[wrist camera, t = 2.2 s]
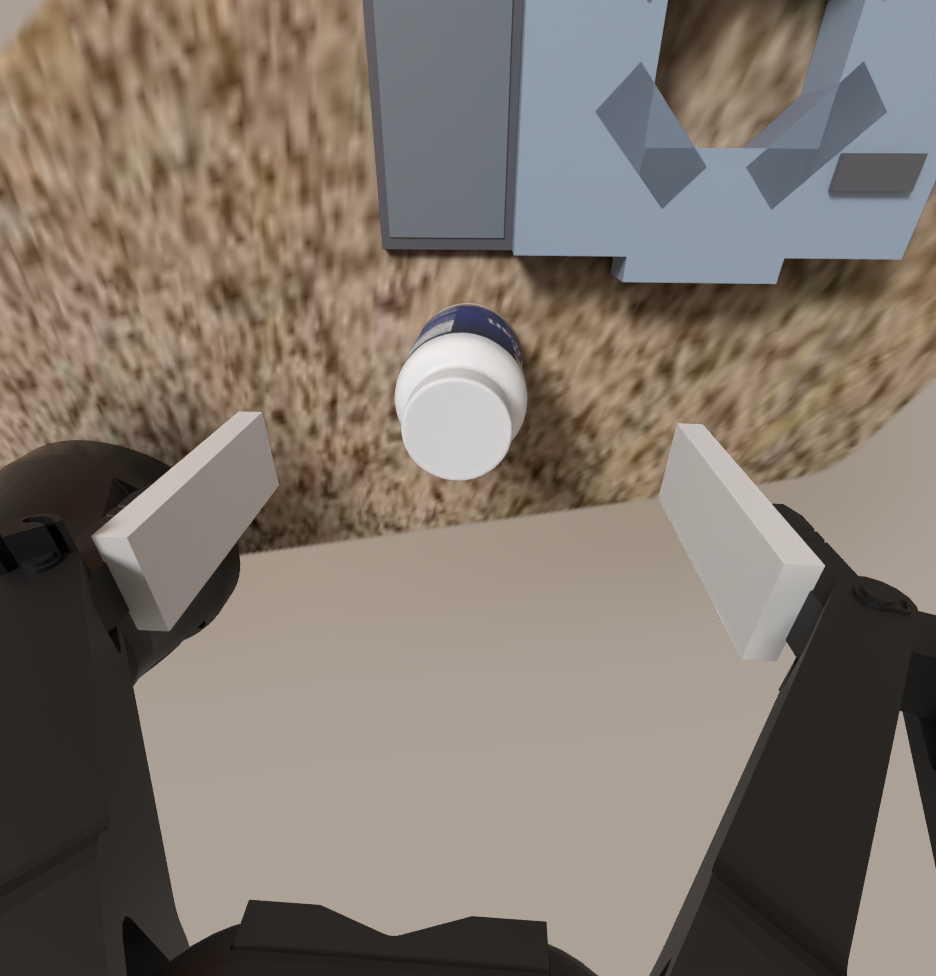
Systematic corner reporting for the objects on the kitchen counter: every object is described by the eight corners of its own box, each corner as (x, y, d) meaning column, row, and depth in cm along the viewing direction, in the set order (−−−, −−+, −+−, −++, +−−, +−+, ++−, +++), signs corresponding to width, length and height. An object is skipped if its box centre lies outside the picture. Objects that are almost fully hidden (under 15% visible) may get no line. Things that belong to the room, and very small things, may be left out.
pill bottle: (540, 363, 25) (563, 446, 17) (461, 421, 27) (448, 521, 19) (476, 276, 23) (468, 323, 15) (395, 346, 25) (348, 421, 17)
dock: (510, 272, 23) (512, 281, 21) (537, -294, 15) (546, -387, 12) (852, 276, 23) (895, 286, 20) (1080, -308, 14) (1198, -408, 12)
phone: (511, 248, 23) (511, 250, 22) (386, 246, 23) (382, 249, 22) (528, -134, 17) (530, -152, 16) (357, -131, 17) (350, -149, 16)
